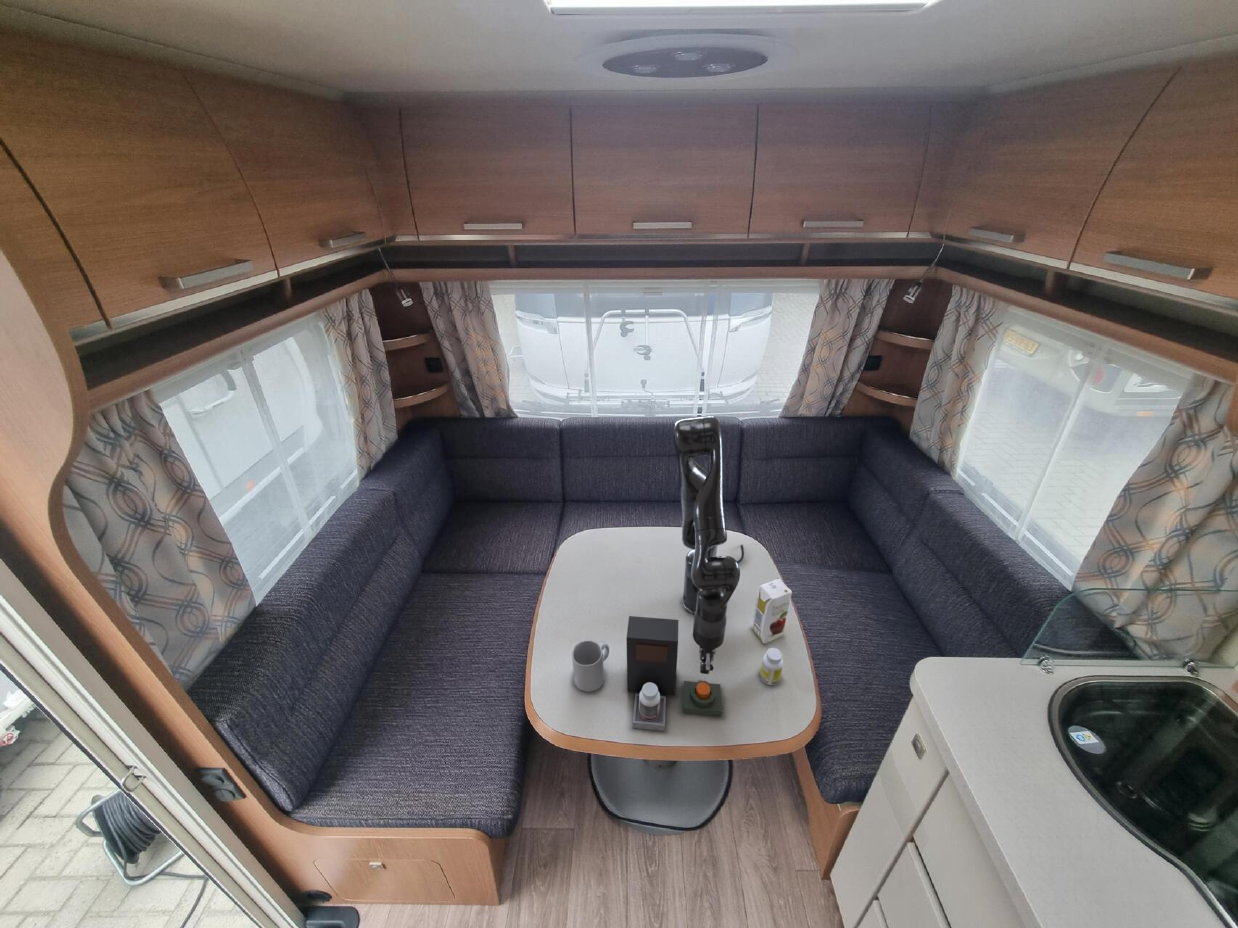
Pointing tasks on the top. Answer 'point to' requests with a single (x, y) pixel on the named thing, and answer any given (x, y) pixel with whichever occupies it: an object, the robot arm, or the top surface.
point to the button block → (700, 705)
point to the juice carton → (771, 610)
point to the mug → (589, 664)
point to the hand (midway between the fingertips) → (704, 671)
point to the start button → (703, 690)
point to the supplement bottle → (771, 666)
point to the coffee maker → (651, 662)
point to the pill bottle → (649, 702)
